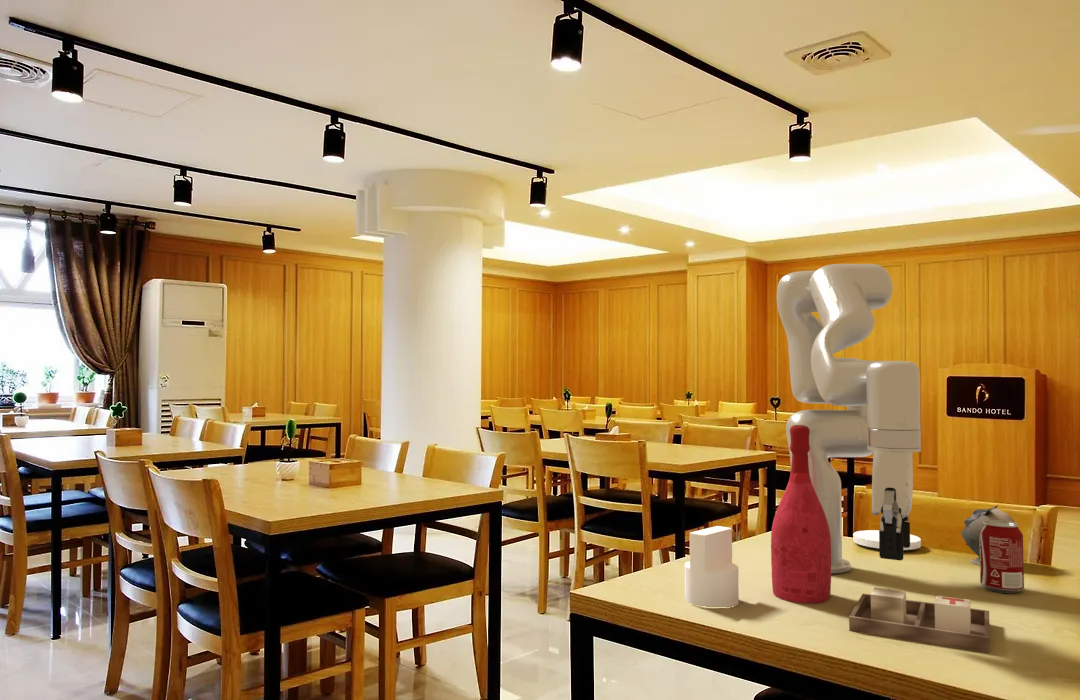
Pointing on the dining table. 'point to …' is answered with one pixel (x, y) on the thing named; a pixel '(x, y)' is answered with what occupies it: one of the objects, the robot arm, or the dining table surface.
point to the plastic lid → (872, 539)
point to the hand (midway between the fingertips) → (895, 552)
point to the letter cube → (952, 614)
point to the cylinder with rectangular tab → (711, 569)
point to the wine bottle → (800, 534)
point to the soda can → (1001, 556)
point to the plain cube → (888, 605)
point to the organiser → (922, 626)
